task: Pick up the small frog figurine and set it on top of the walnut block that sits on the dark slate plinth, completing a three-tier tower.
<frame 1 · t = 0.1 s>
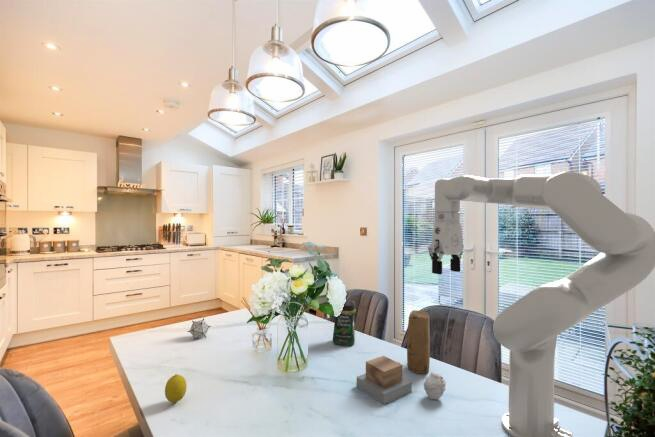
hand: (446, 272, 98), 37 cm above the table, tool pointing down, fingers open, 9 cm apart
slate plinth: (383, 389, 97), on the table
block: (418, 368, 112), on the table
lemon: (175, 403, 88), on the table
walnut block: (383, 379, 97), point 3 cm above the table, touching slate plinth
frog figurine: (434, 398, 92), on the table
coffee jar: (343, 343, 134), on the table
grey spiky faceted part: (199, 338, 137), on the table
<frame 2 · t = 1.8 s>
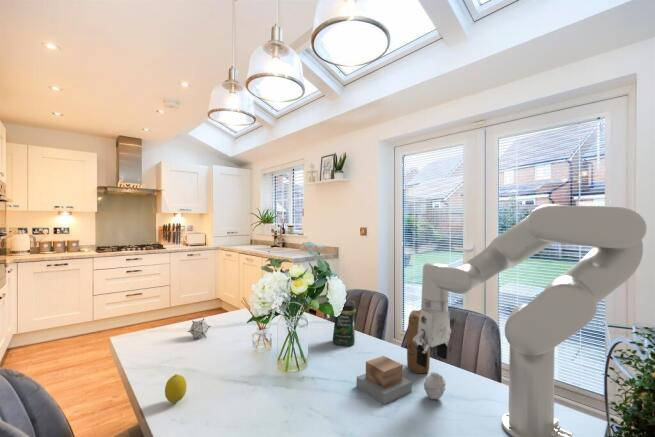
hand: (431, 361, 93), 11 cm above the table, tool pointing down, fingers open, 9 cm apart
nothing on the table moved.
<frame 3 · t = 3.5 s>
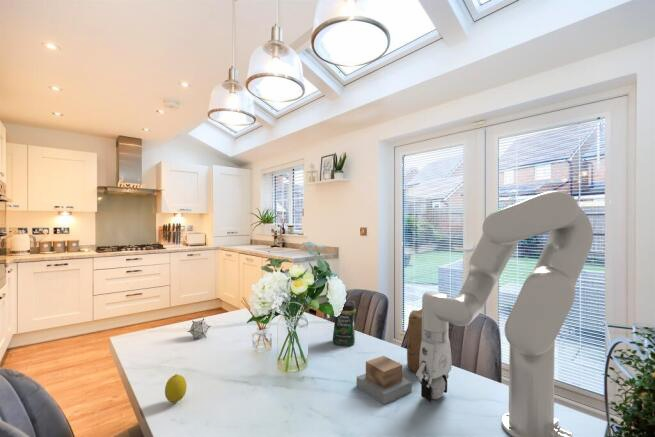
hand: (434, 394, 92), 1 cm above the table, tool pointing down, fingers closed on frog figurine, 7 cm apart
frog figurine: (434, 398, 92), on the table, touching gripper
everything else where it was.
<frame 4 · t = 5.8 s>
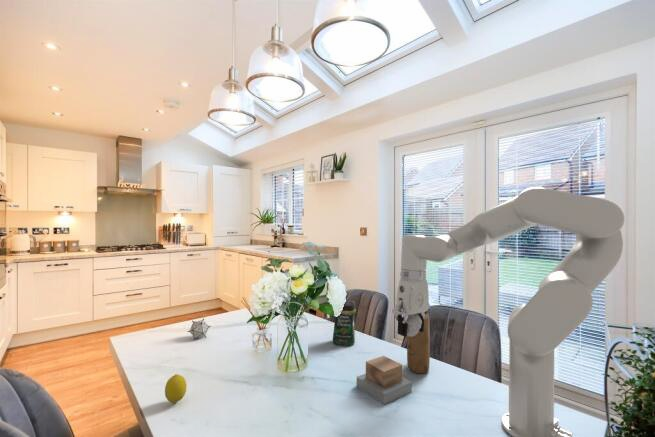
hand: (410, 332, 95), 18 cm above the table, tool pointing down, fingers closed on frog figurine, 6 cm apart
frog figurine: (410, 336, 95), point 17 cm above the table, touching gripper
everything else where it was.
when the fingers open (10 cm above the table, at t = 8.5 s): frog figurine drops 1 cm, resting on walnut block.
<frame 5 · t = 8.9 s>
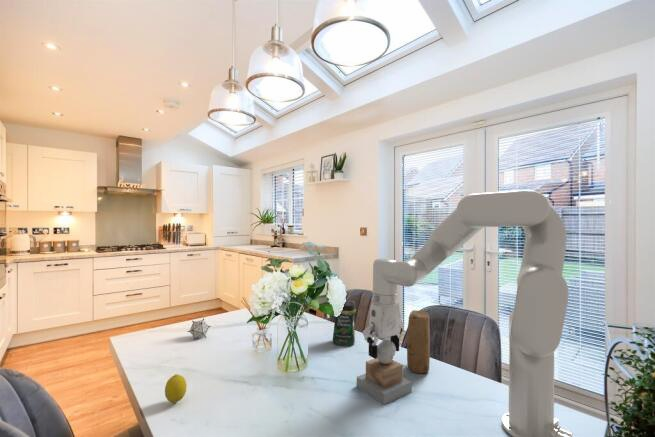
hand: (384, 353, 97), 11 cm above the table, tool pointing down, fingers open, 9 cm apart
walnut block: (383, 379, 97), point 3 cm above the table, touching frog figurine, slate plinth
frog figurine: (385, 363, 97), point 8 cm above the table, touching walnut block
everything else where it was.
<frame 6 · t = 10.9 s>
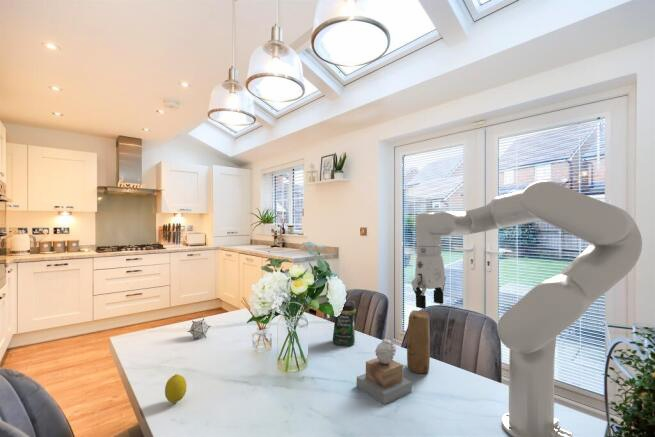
hand: (430, 305, 99), 26 cm above the table, tool pointing down, fingers open, 9 cm apart
nothing on the table moved.
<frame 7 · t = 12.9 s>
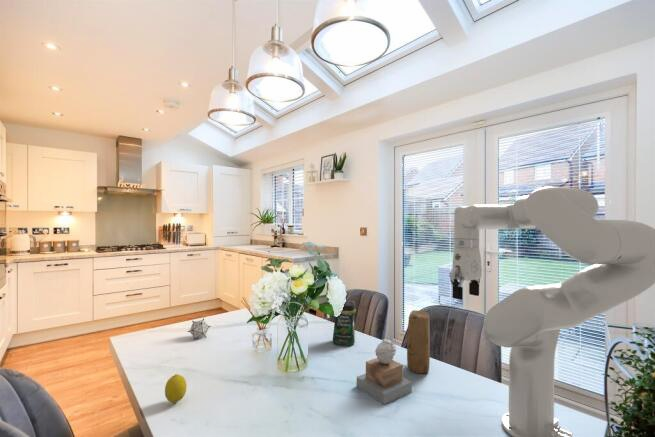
hand: (466, 296, 101), 28 cm above the table, tool pointing down, fingers open, 9 cm apart
nothing on the table moved.
at the end: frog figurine inside the target area on the walnut block (0.5 cm from its centre), point 4.8 cm above the walnut block's base; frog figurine tilted 0°; the gripper is holding nothing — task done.
